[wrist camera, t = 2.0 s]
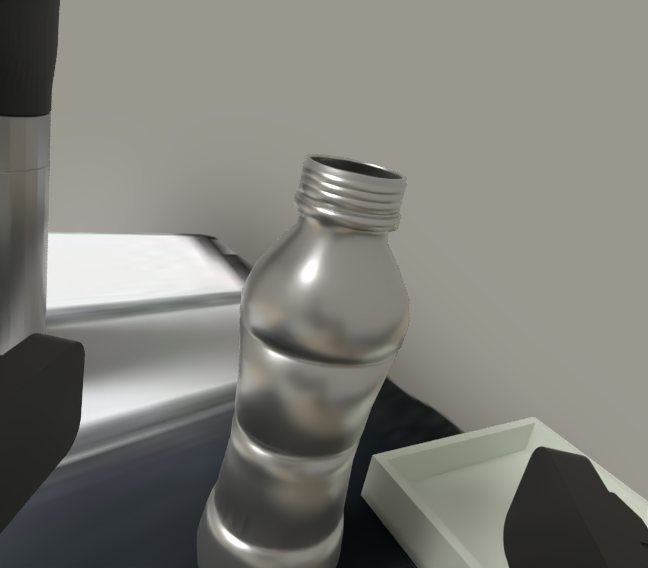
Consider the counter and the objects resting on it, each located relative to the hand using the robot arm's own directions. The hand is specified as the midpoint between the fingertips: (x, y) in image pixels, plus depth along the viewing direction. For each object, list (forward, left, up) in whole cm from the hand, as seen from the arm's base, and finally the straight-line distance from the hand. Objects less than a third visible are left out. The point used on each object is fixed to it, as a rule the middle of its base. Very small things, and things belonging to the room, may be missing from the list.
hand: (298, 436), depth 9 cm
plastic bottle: (-9, +7, -17) cm, 20 cm away
